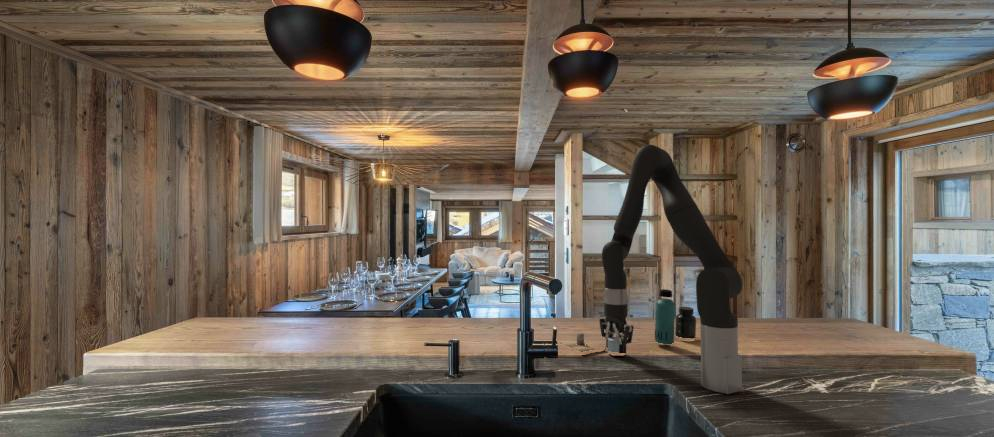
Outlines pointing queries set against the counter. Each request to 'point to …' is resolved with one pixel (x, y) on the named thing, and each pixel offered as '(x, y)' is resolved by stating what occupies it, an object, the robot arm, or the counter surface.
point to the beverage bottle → (665, 318)
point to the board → (579, 347)
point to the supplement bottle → (685, 323)
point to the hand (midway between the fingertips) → (616, 353)
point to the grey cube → (613, 344)
